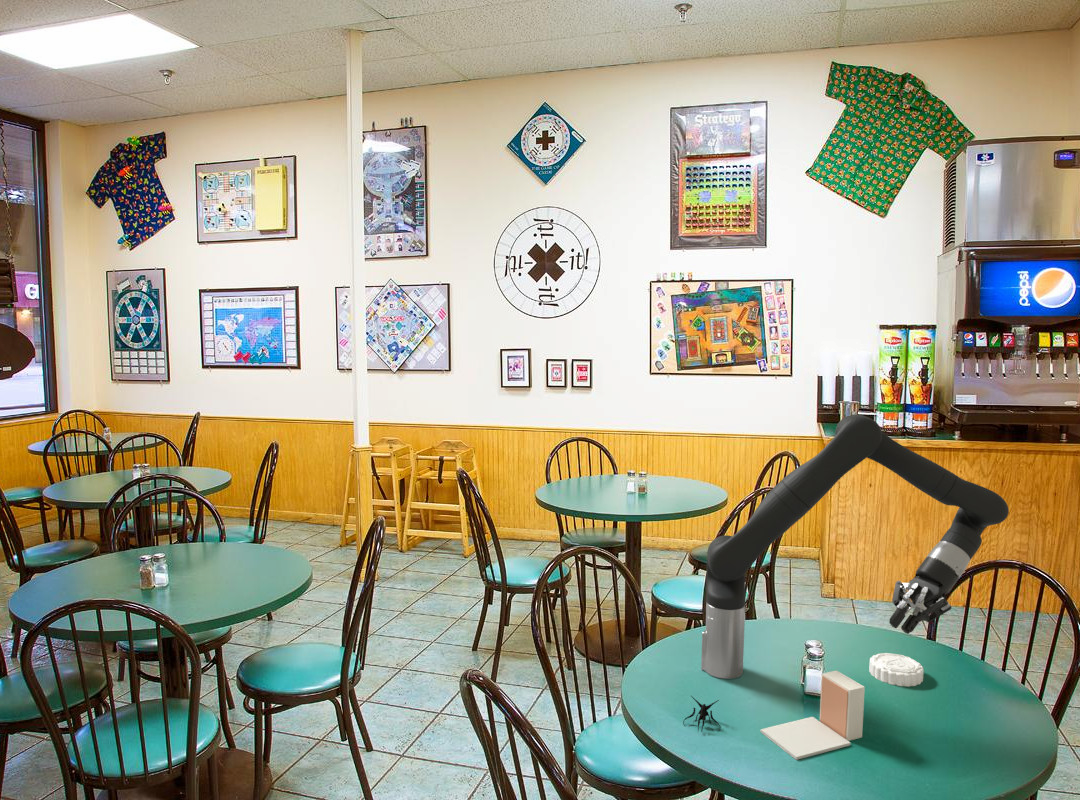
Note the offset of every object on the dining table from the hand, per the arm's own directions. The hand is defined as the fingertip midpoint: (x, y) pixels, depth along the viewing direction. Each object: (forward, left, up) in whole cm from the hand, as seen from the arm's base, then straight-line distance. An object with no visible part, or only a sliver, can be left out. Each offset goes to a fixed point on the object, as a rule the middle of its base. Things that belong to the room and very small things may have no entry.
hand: (898, 628), depth 167 cm
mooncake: (-4, +21, -20) cm, 30 cm away
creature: (-31, -29, -20) cm, 47 cm away
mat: (-12, -21, -20) cm, 32 cm away
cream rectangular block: (-7, -13, -20) cm, 25 cm away
